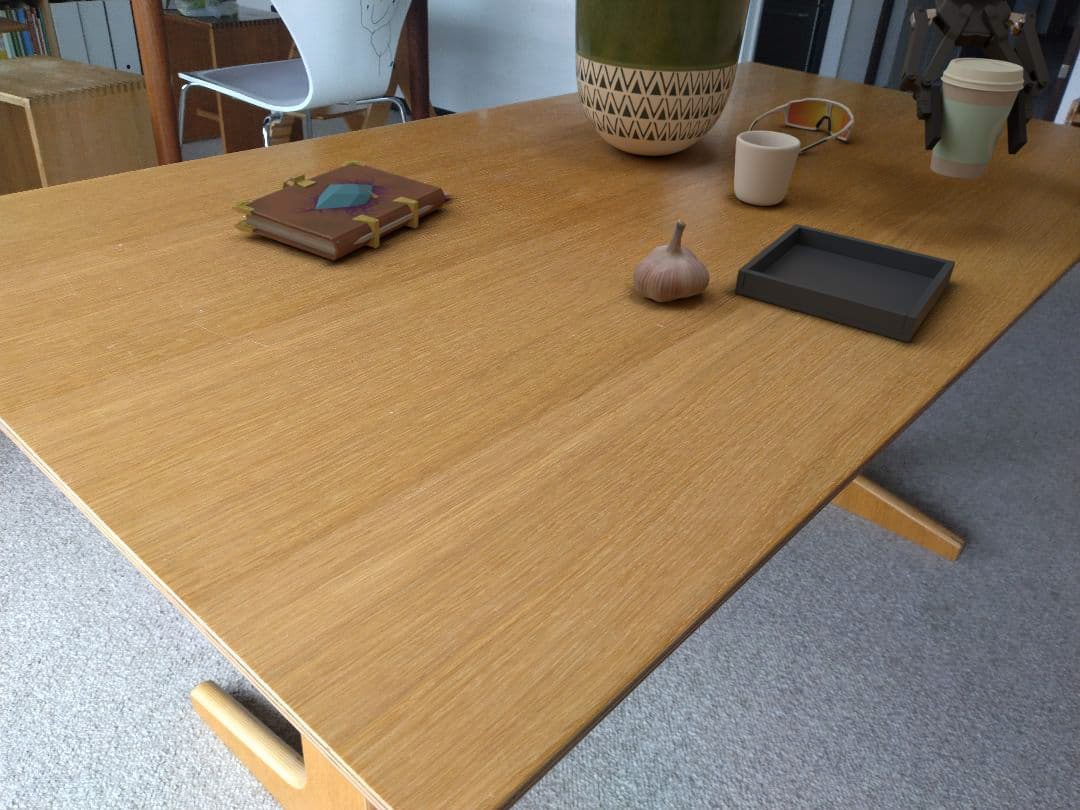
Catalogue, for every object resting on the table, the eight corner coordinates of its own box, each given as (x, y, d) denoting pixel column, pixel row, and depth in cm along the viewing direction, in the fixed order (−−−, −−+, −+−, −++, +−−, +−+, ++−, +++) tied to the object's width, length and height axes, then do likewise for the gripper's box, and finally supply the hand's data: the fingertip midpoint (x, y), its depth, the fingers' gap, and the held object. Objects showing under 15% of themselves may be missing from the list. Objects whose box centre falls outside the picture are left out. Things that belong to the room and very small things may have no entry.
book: (467, 207, 111) (468, 169, 108) (338, 274, 93) (335, 229, 90) (365, 176, 117) (364, 139, 114) (225, 233, 99) (219, 190, 96)
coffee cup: (991, 187, 98) (1026, 76, 92) (912, 174, 102) (940, 65, 95) (998, 168, 105) (1031, 62, 98) (924, 156, 108) (951, 53, 102)
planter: (680, 124, 146) (701, -59, 131) (760, 168, 127) (796, -40, 112) (542, 133, 138) (549, -60, 124) (606, 181, 119) (623, -40, 105)
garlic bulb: (713, 289, 91) (725, 215, 87) (694, 317, 85) (705, 239, 81) (644, 274, 93) (652, 202, 89) (621, 301, 88) (628, 225, 83)
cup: (745, 180, 122) (755, 122, 117) (802, 191, 118) (814, 132, 114) (718, 202, 114) (728, 140, 109) (778, 215, 110) (790, 151, 106)
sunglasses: (865, 140, 140) (870, 109, 137) (807, 170, 133) (811, 138, 130) (792, 120, 149) (795, 91, 146) (734, 147, 142) (736, 117, 139)
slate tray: (948, 284, 94) (955, 261, 93) (908, 342, 82) (915, 317, 81) (791, 244, 102) (795, 223, 101) (734, 293, 90) (738, 269, 89)
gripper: (1046, -3, 106) (1055, 167, 101) (867, -10, 108) (867, 157, 103) (1080, -48, 99) (1092, 133, 94) (888, -55, 100) (890, 123, 95)
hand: (975, 145), depth 98 cm, fingers closed on coffee cup, 8 cm apart
